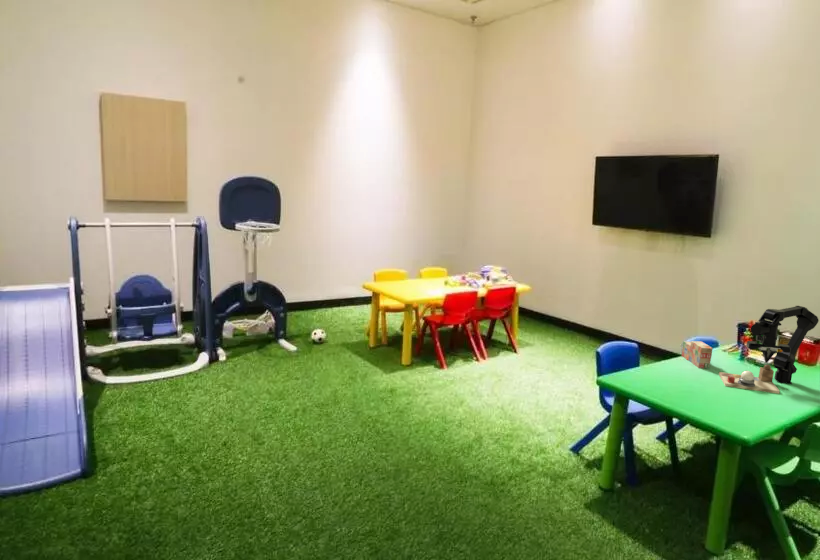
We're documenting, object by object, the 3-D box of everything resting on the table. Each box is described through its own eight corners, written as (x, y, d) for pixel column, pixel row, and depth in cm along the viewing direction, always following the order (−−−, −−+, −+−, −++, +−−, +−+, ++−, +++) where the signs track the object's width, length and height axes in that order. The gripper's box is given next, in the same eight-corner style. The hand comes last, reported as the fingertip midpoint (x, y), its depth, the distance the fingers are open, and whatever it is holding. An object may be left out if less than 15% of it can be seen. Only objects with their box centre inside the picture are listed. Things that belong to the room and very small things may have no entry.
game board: (769, 381, 287) (770, 373, 286) (779, 394, 270) (780, 385, 269) (718, 374, 295) (719, 366, 294) (725, 386, 278) (726, 378, 277)
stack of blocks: (680, 355, 326) (683, 336, 323) (691, 356, 326) (694, 336, 323) (698, 368, 305) (701, 347, 302) (709, 368, 305) (712, 347, 302)
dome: (752, 380, 280) (754, 370, 279) (755, 384, 274) (757, 374, 273) (737, 378, 282) (739, 368, 281) (740, 382, 276) (742, 372, 275)
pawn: (769, 379, 286) (771, 363, 285) (772, 382, 282) (774, 366, 280) (758, 377, 288) (761, 362, 286) (760, 380, 283) (763, 365, 282)
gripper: (786, 331, 283) (782, 359, 286) (745, 327, 289) (742, 355, 292) (793, 337, 273) (788, 366, 276) (750, 333, 279) (747, 362, 282)
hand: (766, 362), depth 282 cm, fingers closed
